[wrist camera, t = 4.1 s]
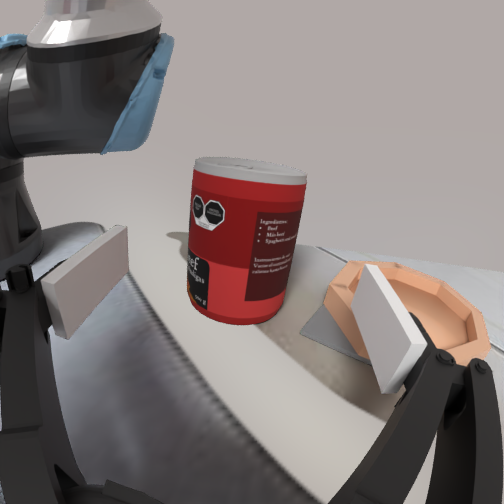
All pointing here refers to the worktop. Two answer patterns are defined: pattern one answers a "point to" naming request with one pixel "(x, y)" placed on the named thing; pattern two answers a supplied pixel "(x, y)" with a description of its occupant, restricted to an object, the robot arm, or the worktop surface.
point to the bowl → (414, 309)
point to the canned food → (242, 237)
